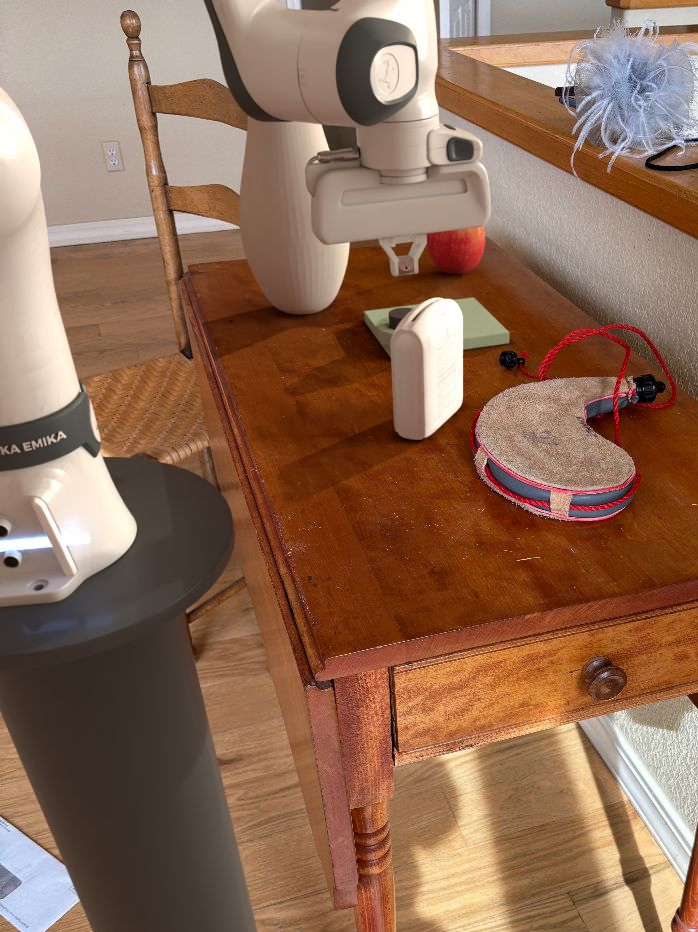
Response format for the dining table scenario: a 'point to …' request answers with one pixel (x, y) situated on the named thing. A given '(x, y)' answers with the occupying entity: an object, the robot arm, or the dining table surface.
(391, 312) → the button
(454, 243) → the apple
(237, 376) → the dining table surface
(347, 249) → the vase
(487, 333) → the scale
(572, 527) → the dining table surface
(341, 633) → the dining table surface
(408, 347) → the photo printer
